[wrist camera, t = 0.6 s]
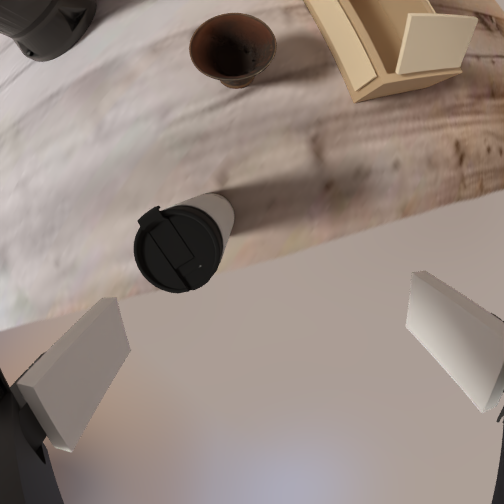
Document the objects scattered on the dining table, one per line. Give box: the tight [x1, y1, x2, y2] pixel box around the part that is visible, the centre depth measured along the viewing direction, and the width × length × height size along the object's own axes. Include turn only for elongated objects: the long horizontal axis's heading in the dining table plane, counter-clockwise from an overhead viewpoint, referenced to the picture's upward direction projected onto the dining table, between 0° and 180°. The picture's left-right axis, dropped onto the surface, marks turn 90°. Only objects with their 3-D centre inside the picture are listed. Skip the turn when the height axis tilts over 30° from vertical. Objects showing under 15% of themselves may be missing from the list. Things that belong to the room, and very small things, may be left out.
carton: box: [303, 0, 463, 103], centre depth 28 cm, size 20×14×10 cm
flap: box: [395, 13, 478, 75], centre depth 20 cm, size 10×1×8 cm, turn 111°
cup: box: [189, 13, 277, 89], centre depth 30 cm, size 9×9×10 cm
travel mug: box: [134, 193, 235, 293], centre depth 29 cm, size 6×7×20 cm
